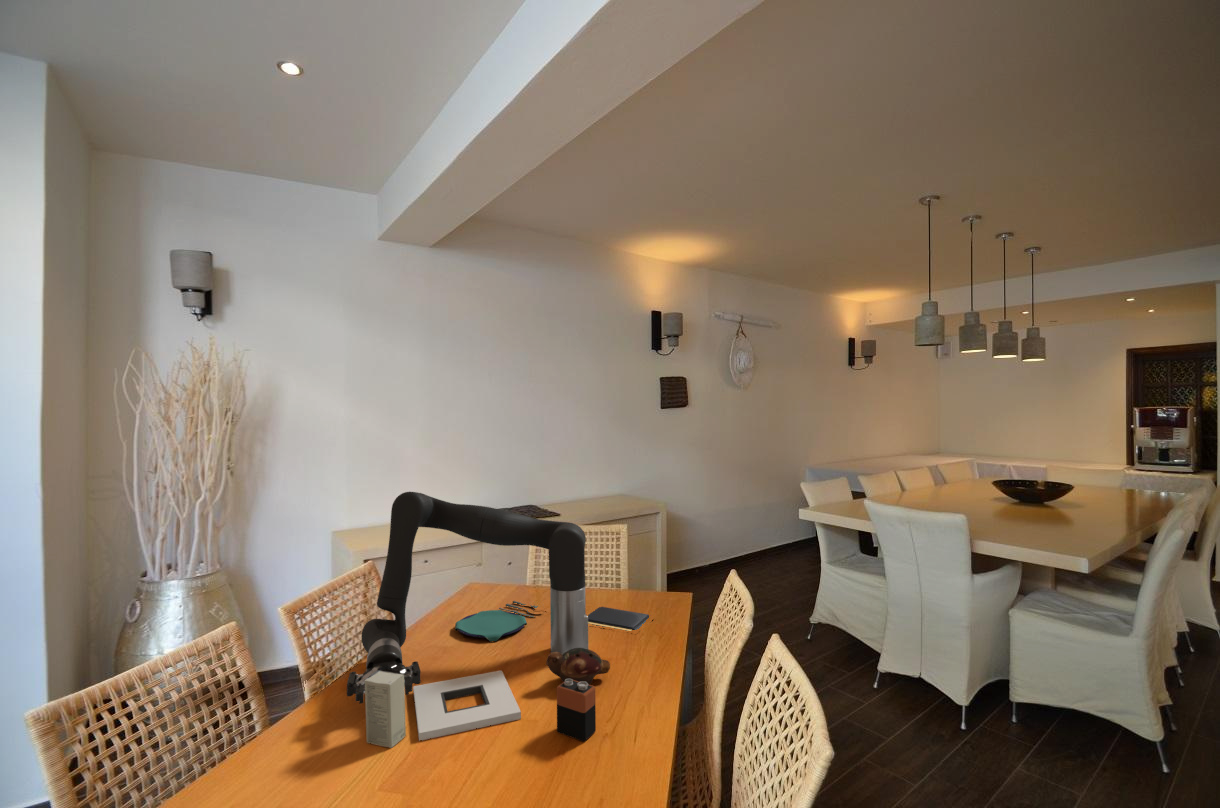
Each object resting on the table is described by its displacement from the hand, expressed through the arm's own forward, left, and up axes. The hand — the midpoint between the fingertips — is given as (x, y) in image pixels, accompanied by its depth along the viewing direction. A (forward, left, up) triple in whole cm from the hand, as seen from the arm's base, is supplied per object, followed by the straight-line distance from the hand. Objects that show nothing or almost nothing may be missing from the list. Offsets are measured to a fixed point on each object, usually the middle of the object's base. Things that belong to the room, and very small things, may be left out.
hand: (384, 694), depth 113 cm
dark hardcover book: (-65, -36, -8) cm, 75 cm away
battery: (-35, +15, -8) cm, 39 cm away
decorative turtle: (-42, -4, -8) cm, 43 cm away
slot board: (-16, -4, -7) cm, 18 cm away
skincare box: (0, +3, -8) cm, 8 cm away
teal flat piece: (-33, -48, -8) cm, 59 cm away
